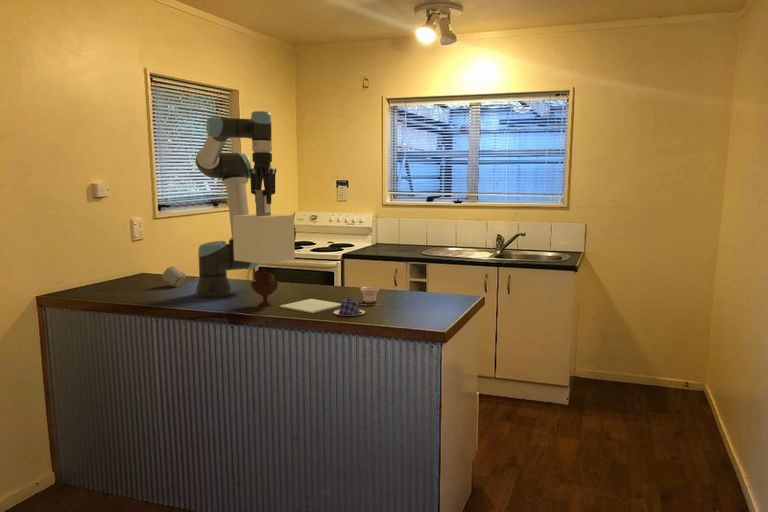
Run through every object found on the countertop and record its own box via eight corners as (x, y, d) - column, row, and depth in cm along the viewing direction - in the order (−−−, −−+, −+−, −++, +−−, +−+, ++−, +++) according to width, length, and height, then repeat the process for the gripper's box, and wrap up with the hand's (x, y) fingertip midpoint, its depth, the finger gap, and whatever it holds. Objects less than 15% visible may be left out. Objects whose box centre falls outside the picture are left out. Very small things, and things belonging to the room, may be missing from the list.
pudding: (371, 314, 225) (371, 300, 225) (346, 319, 218) (346, 304, 217) (352, 309, 234) (352, 296, 234) (327, 313, 227) (327, 300, 226)
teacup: (351, 301, 248) (351, 287, 248) (378, 299, 253) (378, 285, 252) (361, 307, 237) (361, 292, 237) (389, 304, 242) (389, 289, 241)
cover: (234, 260, 236) (231, 189, 233) (266, 256, 249) (264, 189, 246) (262, 263, 226) (260, 190, 222) (294, 259, 239) (293, 189, 236)
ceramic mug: (174, 291, 280) (176, 279, 275) (160, 281, 281) (163, 270, 276) (189, 280, 288) (192, 269, 283) (176, 270, 289) (179, 259, 285)
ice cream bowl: (273, 308, 234) (272, 270, 232) (246, 307, 236) (245, 270, 234) (283, 303, 244) (282, 267, 242) (257, 302, 246) (256, 266, 244)
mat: (279, 307, 236) (279, 305, 236) (311, 300, 251) (311, 298, 251) (312, 313, 226) (312, 311, 226) (343, 305, 240) (343, 304, 240)
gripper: (240, 152, 234) (241, 211, 237) (269, 151, 224) (271, 213, 227) (254, 153, 240) (256, 211, 243) (284, 151, 230) (285, 212, 233)
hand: (263, 212), depth 235 cm, fingers closed on cover, 4 cm apart
